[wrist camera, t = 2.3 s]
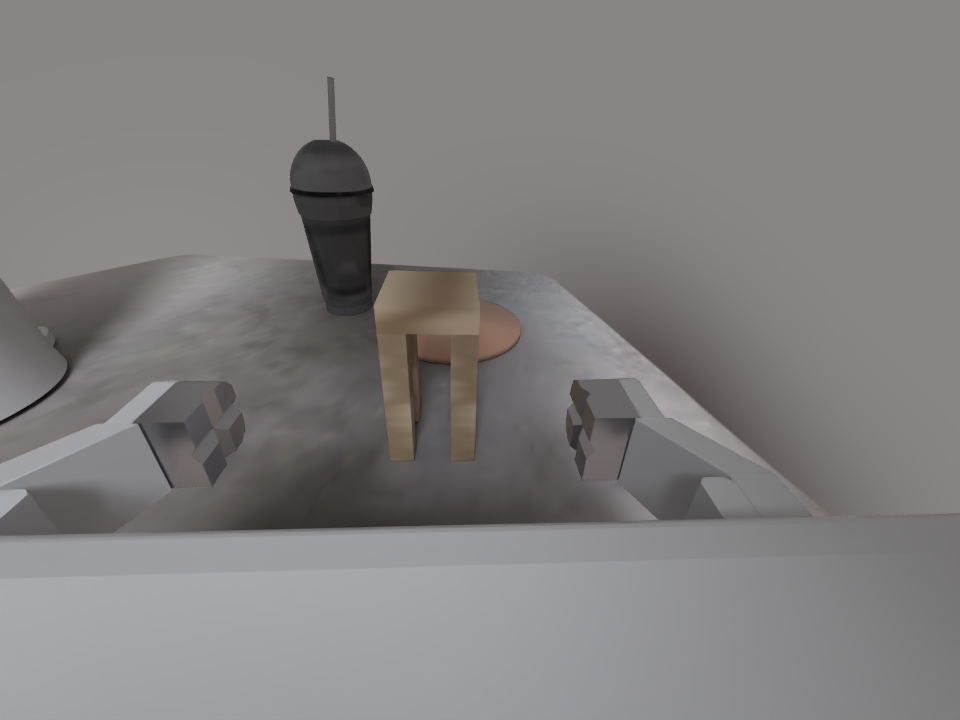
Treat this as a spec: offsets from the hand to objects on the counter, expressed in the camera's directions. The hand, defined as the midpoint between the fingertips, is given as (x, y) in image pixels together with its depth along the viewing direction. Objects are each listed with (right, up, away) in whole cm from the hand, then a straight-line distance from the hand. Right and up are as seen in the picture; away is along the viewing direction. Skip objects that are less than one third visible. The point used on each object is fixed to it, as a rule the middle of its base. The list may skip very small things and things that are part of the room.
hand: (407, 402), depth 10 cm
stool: (-1, -4, +17) cm, 17 cm away
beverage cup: (-12, +7, +33) cm, 36 cm away
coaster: (-1, +4, +29) cm, 30 cm away
